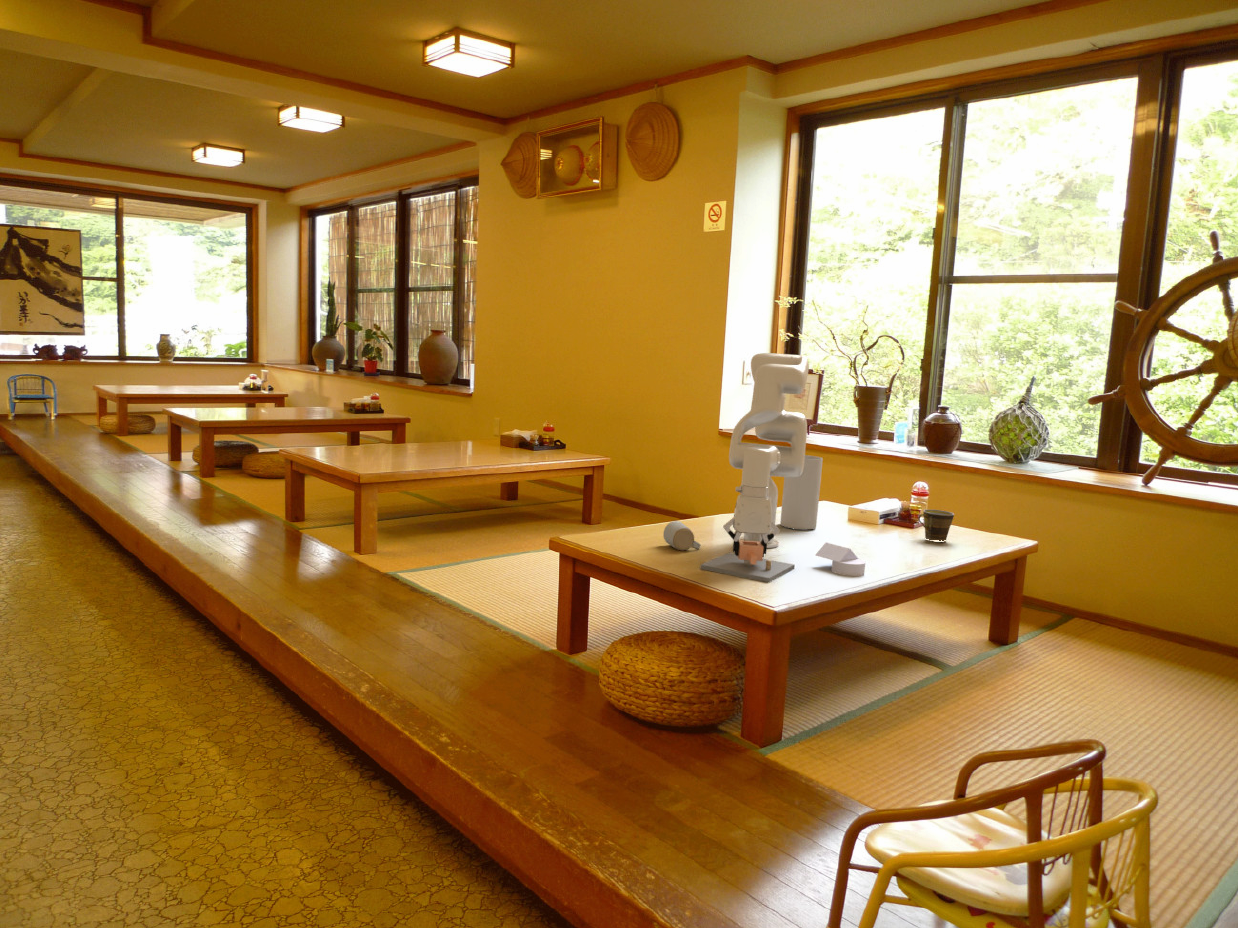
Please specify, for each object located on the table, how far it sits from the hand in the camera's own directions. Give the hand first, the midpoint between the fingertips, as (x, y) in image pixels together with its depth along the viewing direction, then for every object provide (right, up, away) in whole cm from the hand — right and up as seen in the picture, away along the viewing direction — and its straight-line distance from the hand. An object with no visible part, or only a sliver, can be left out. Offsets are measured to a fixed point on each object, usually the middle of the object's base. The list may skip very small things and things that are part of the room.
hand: (749, 554), depth 244 cm
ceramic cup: (+71, -1, +57) cm, 91 cm away
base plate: (0, -4, 0) cm, 4 cm away
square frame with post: (0, -1, -2) cm, 3 cm away
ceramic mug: (-17, 0, +21) cm, 27 cm away
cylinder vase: (+27, +3, +66) cm, 72 cm away
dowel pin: (+5, -4, -4) cm, 7 cm away
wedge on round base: (+27, -5, +6) cm, 29 cm away
